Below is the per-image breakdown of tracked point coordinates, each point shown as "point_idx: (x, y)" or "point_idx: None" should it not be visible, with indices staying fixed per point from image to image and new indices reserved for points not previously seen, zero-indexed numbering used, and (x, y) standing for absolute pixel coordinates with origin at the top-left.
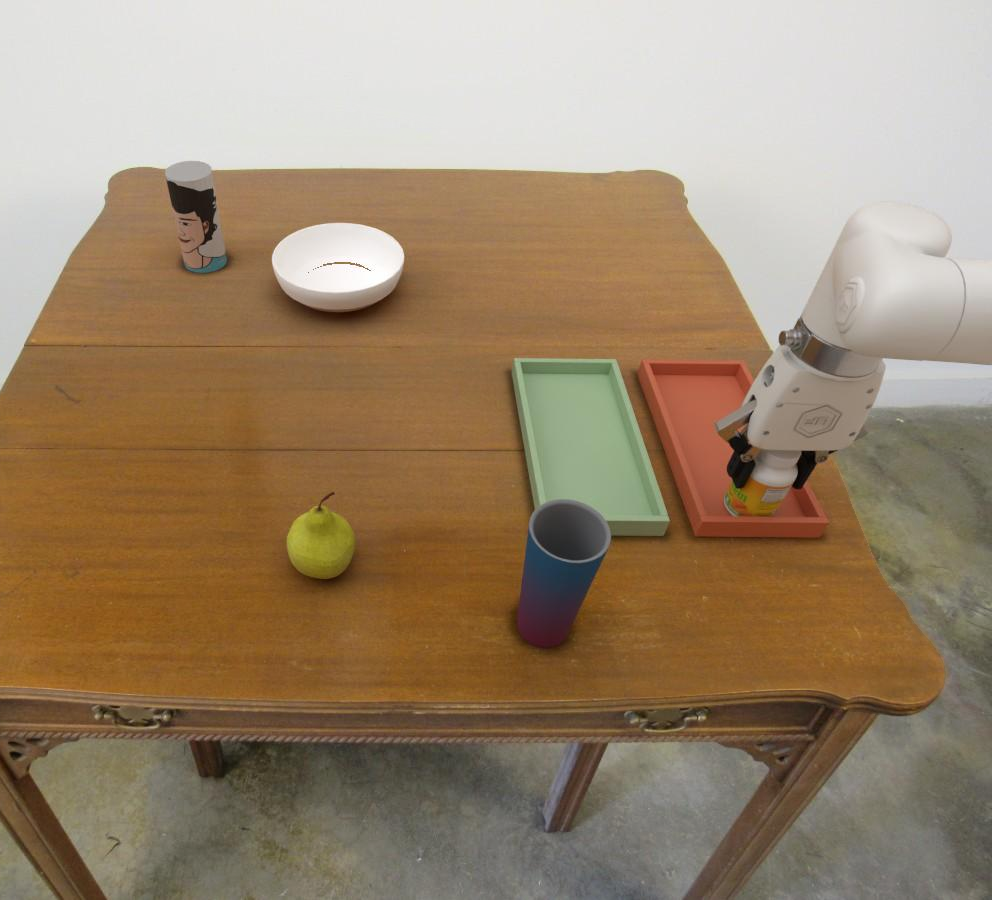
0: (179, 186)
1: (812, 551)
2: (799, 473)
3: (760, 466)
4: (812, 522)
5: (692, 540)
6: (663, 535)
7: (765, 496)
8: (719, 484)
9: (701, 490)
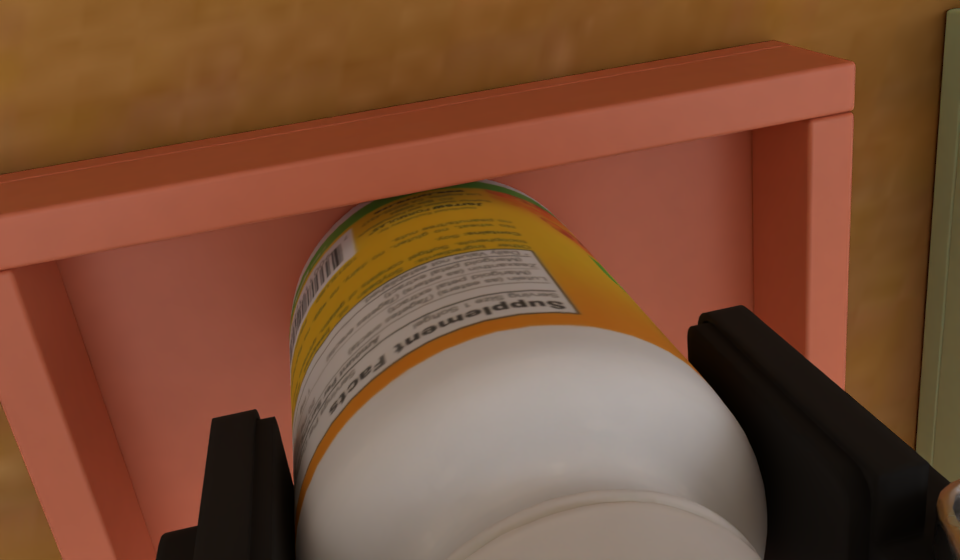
0: None
1: (45, 47)
2: (282, 536)
3: (706, 499)
4: (70, 205)
5: (793, 7)
6: (954, 9)
7: (531, 271)
8: None
9: None
